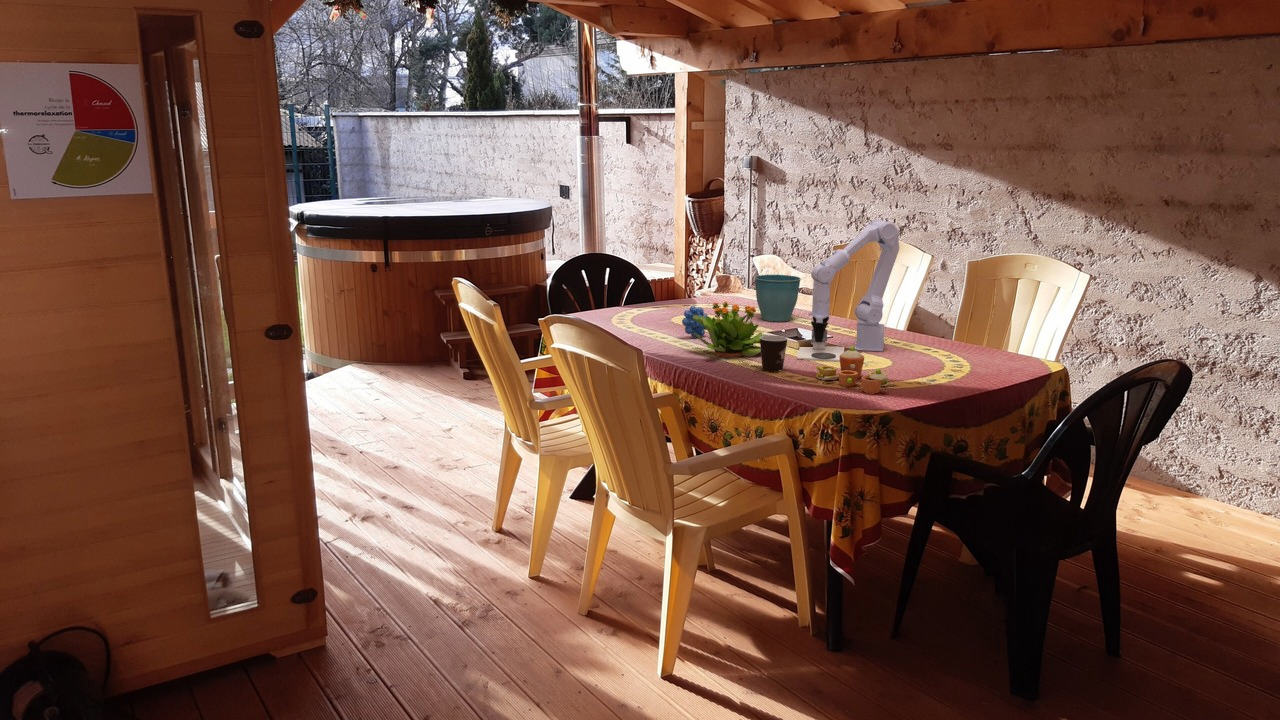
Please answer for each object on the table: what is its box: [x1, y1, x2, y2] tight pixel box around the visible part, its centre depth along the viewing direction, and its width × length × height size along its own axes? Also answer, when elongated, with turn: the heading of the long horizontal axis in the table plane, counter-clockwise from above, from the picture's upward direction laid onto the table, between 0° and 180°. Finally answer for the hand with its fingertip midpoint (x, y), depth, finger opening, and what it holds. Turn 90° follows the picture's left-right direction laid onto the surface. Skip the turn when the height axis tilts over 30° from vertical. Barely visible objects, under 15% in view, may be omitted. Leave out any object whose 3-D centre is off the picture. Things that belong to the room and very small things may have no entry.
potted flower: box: [692, 300, 768, 358], centre depth 317 cm, size 25×24×18 cm
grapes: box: [681, 305, 708, 339], centre depth 342 cm, size 12×7×12 cm, turn 123°
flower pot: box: [754, 274, 802, 323], centre depth 377 cm, size 18×18×17 cm
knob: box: [811, 328, 828, 343], centre depth 323 cm, size 5×5×4 cm
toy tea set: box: [815, 346, 889, 394], centre depth 282 cm, size 26×16×10 cm, turn 31°
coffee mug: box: [759, 334, 788, 372], centre depth 299 cm, size 12×9×10 cm
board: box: [796, 341, 845, 363], centre depth 319 cm, size 15×20×4 cm
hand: (819, 339), depth 324 cm, fingers open, 7 cm apart
